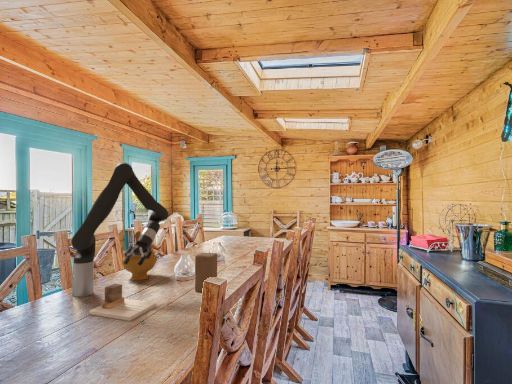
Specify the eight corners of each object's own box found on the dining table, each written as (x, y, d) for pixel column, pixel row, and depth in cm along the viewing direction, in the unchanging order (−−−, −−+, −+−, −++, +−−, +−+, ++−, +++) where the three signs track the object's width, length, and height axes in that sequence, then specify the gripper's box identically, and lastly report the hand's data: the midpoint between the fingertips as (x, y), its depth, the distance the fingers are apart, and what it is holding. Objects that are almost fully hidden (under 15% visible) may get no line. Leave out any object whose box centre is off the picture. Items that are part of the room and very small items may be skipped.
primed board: (89, 314, 136) (89, 310, 136) (118, 300, 153) (118, 297, 153) (129, 320, 129) (129, 317, 129) (156, 306, 146) (156, 302, 146)
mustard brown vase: (138, 272, 209) (138, 228, 210) (163, 275, 202) (164, 229, 202) (114, 280, 190) (114, 231, 190) (140, 283, 182) (141, 233, 182)
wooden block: (211, 293, 165) (211, 256, 165) (194, 292, 167) (194, 255, 167) (217, 287, 175) (217, 252, 175) (201, 286, 177) (201, 252, 177)
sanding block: (101, 307, 139) (102, 288, 139) (116, 301, 148) (116, 282, 148) (110, 309, 138) (110, 289, 138) (124, 302, 146) (124, 283, 146)
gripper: (132, 233, 165) (116, 259, 154) (154, 234, 160) (140, 261, 149) (139, 242, 170) (124, 267, 159) (160, 243, 165) (147, 269, 154)
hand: (131, 264), depth 154 cm, fingers open, 8 cm apart
